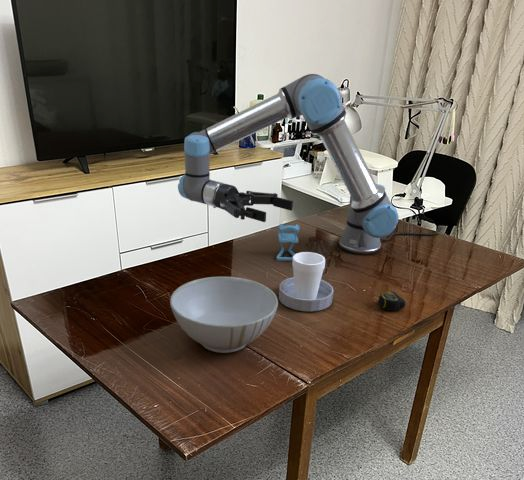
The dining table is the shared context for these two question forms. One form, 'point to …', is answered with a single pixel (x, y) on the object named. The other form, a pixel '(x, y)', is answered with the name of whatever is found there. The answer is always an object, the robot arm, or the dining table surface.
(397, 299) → the tape measure
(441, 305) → the dining table surface
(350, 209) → the robot arm
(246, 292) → the decorative bowl
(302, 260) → the foam cup
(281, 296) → the white plant saucer
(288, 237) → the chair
